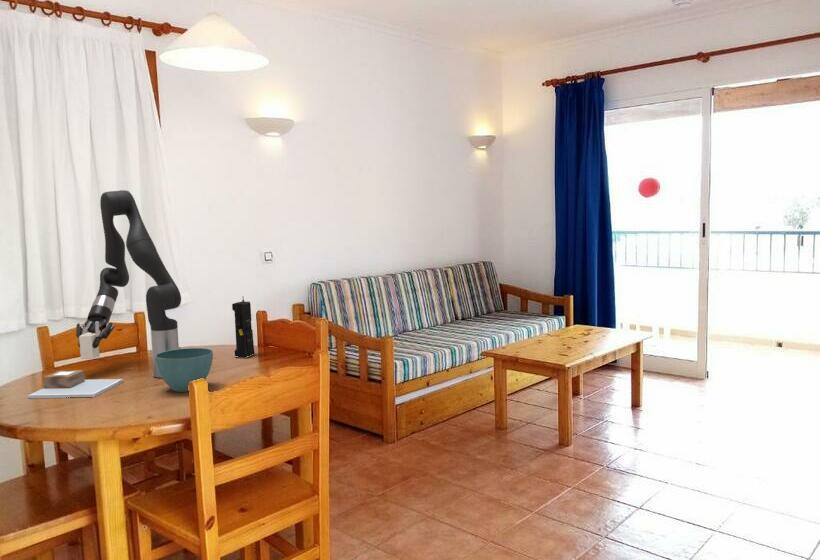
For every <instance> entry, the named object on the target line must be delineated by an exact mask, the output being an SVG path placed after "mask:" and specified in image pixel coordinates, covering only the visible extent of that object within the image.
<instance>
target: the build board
mask: <svg viewBox="0 0 820 560" xmlns="http://www.w3.org/2000/svg"><path fill="white" fill-rule="evenodd" d="M122 383H124V379H123V378H115V379H114V378H112V379H111V378H108V379H107V378H105V379H86V378H85V370H84V369H83V370H81V369H80V370H79V369H78V370H77V369H75V370H57V371H54V372H52V373H50V374H47V375H44V376H43V388H40V389H39V390H37V391H34V392H32V393H30V394H27V395H26V398H31V399H71V398H70V397H93V398H95V396H96V397H98V396H100V395H101V394H103V393H105V392H107V391H108V390H111V389H113V388H114V387H116V386H119V385H120V384H122ZM97 395H98V396H97ZM66 397H67V398H66ZM68 397H69V398H68Z"/></svg>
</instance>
